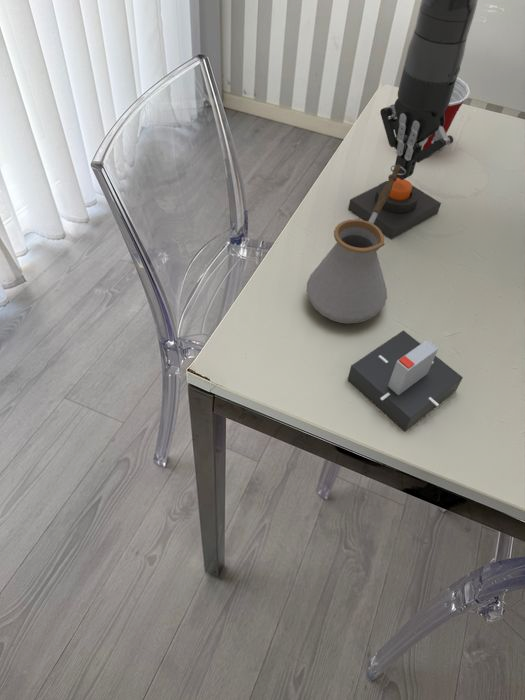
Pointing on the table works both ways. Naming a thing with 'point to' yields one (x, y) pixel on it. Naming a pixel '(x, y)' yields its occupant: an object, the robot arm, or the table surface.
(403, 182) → the power button
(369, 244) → the coffee pot
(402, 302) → the table surface
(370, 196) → the block
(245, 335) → the table surface
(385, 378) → the timer panel
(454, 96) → the plastic cup
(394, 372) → the timer knob
